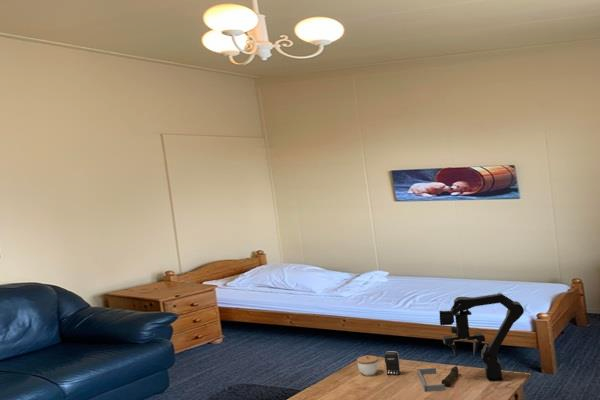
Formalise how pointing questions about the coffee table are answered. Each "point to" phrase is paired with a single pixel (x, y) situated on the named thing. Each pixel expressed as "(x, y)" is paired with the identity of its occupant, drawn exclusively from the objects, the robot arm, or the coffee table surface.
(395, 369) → the battery charger
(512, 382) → the coffee table surface
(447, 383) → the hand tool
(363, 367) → the lidded jar
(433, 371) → the plate
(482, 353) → the robot arm
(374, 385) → the coffee table surface
